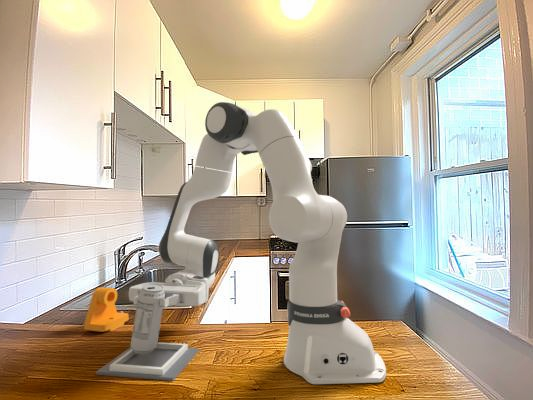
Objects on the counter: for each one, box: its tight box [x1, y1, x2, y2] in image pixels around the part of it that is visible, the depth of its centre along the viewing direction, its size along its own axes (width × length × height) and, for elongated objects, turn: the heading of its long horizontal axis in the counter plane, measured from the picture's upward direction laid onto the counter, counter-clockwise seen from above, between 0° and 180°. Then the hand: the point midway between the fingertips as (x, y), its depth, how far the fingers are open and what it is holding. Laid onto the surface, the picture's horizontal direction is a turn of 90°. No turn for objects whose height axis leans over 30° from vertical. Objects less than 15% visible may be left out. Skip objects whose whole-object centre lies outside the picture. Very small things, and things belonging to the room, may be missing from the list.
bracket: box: [83, 286, 130, 332], centre depth 95 cm, size 11×7×12 cm, turn 164°
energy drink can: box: [130, 284, 165, 354], centre depth 72 cm, size 6×6×15 cm
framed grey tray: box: [95, 341, 200, 382], centre depth 71 cm, size 18×14×2 cm
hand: (149, 302), depth 71 cm, fingers closed on energy drink can, 6 cm apart
